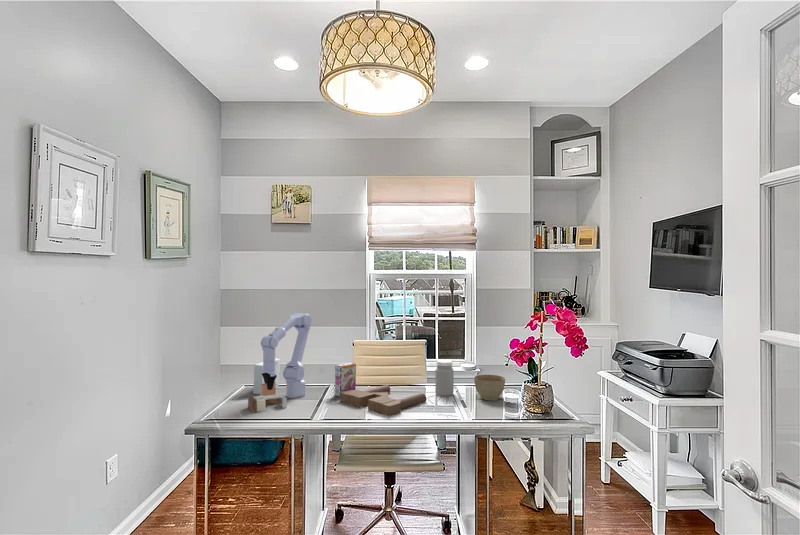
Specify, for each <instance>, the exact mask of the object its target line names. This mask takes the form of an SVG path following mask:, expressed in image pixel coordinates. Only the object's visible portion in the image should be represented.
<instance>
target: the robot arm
mask: <svg viewBox="0 0 800 535" xmlns="http://www.w3.org/2000/svg"><path fill="white" fill-rule="evenodd" d="M312 321H313V319H312V317H311V314H309V313H297V312H293V313H292V314H291V315H289V319H287V321H286V322H285V323H284V324H283V325H281V326H277V327H275V329H274V330H273V331H272V332H270V333H269V334H268V335H265V336H263V337H262V338H261V340H260V347H261V349H262V362H263V370H261V372H265V373H262V376H263V378H264V382H265V383H267V388H268V390H272V389H273V385H274V381H275V379H276V377H277V375H275V371H276V369H275V359H276V348H277V347H278V345H279V343H280V341H281V340H282V339H283V338H284V337H286V335H287V332H288V331H290V330H291V329H292V328H295V329H296V331H297V336H296V341H295V344H294V348H293V352H292V356H291V359H290V361H289V362H287V363H286V365H285V367H284V369H283V372H282V377H283V379H284V380H285V382H286V383H285V384H286V387H285V388H286V390H285V394H286V395H285V397H286V398H287V399H288V398H289V399H294V398H295V399H296V398H300V397H306V382H305V380H304V379H303V378H304V376H305V366H304V364H302V360H303V358H304V353H305V348H306V345H307V341H308V336H309V334H310V329H311V325H312Z"/></svg>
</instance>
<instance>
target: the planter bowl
mask: <svg viewBox="0 0 800 535" xmlns="http://www.w3.org/2000/svg"><path fill="white" fill-rule="evenodd" d="M473 379H474V380H473V381H474V387H475V389H476V392H477V394H479V397H480V399H481V400H483V399H484V400H485V401H494V400H495V401H498V400H499V399H500V396H501V395H502V393H503V391H504V390H505V385H506V377H504V376H503V375H497V374H479V375H475V376H474V377H473Z"/></svg>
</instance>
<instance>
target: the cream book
mask: <svg viewBox="0 0 800 535" xmlns="http://www.w3.org/2000/svg"><path fill="white" fill-rule="evenodd" d="M254 398H255V397H254ZM255 399H256V413H257V412H258V413H259V412H264V411H265V412H266V406H265V404H266V399H265V398H264V396H262V397H256V398H255Z"/></svg>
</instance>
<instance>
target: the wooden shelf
mask: <svg viewBox="0 0 800 535" xmlns="http://www.w3.org/2000/svg"><path fill="white" fill-rule="evenodd" d="M247 399H248V400H247V401H248V402H247V407H248V410H250V412H251V413H252V414H255V413H257V412H256V399H255V397H254V396H253V395H252V394H249V395H248V397H247ZM265 400H266V404H265V407H266V406H274V405H279V397H276V398H274V397H273V398H268V399H267V398H266V399H265Z"/></svg>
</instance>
